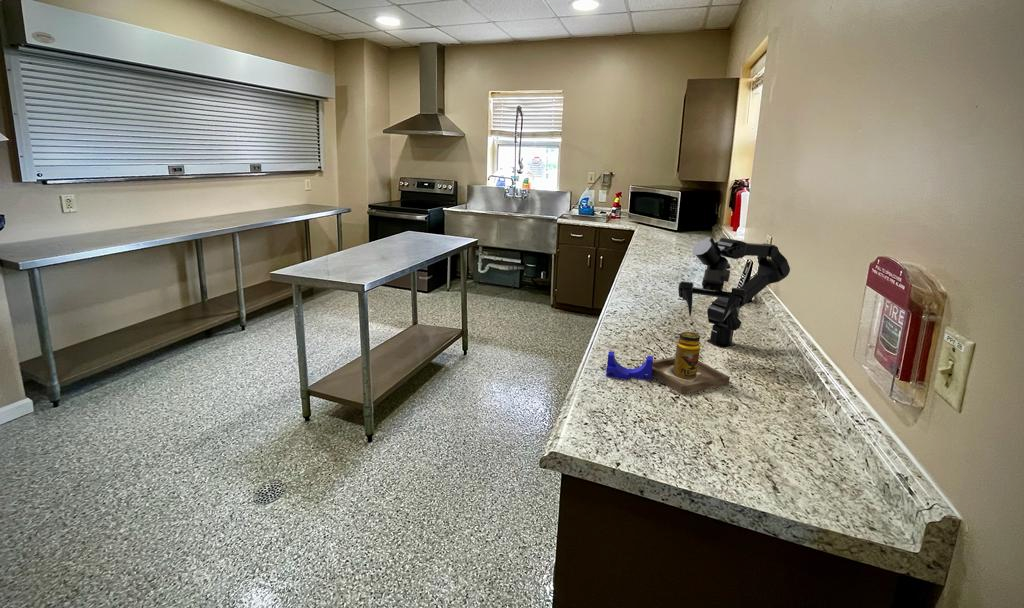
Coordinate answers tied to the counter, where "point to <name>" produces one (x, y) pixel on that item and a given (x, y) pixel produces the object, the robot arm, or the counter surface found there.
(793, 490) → the counter surface
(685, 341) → the condiment
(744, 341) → the counter surface
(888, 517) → the counter surface
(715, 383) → the dock holder
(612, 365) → the cable clip
